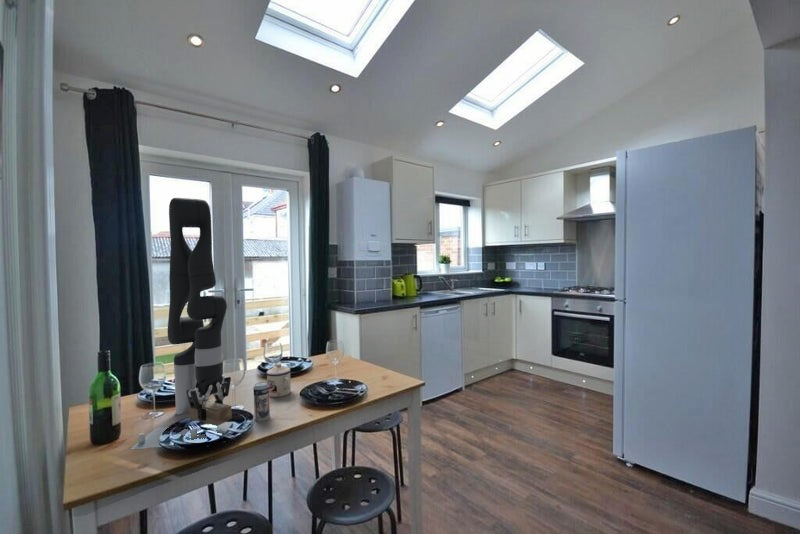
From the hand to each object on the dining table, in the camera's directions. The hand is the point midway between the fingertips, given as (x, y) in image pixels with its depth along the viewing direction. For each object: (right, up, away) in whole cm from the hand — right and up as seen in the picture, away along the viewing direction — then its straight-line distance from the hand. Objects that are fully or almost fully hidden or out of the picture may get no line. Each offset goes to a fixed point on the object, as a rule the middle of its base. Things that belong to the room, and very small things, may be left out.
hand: (210, 416), depth 110 cm
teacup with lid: (+11, -4, +31) cm, 33 cm away
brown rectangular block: (0, -1, 0) cm, 1 cm away
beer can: (+13, -5, +7) cm, 16 cm away
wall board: (-6, -5, -3) cm, 8 cm away
